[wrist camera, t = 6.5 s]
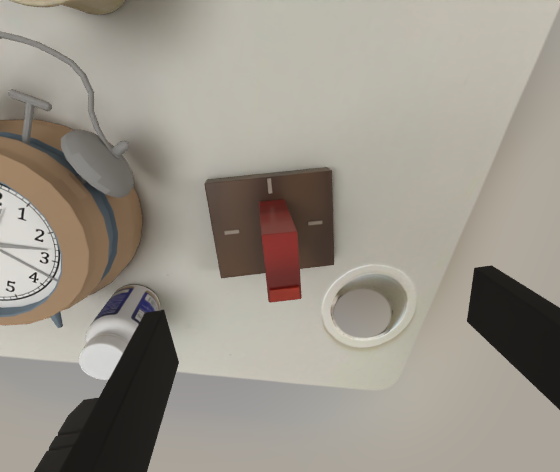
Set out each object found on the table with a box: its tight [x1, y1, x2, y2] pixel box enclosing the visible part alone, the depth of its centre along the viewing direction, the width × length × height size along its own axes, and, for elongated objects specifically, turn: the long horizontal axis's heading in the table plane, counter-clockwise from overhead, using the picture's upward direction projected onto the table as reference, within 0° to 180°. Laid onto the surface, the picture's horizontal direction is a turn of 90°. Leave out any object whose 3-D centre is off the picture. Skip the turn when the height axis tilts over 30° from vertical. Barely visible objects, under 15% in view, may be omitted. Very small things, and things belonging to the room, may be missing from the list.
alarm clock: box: [0, 32, 143, 328], centre depth 25 cm, size 17×9×23 cm
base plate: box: [205, 167, 334, 278], centre depth 32 cm, size 12×10×2 cm
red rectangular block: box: [259, 199, 301, 302], centre depth 27 cm, size 6×2×9 cm, turn 4°
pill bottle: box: [79, 285, 160, 380], centre depth 31 cm, size 5×5×9 cm
